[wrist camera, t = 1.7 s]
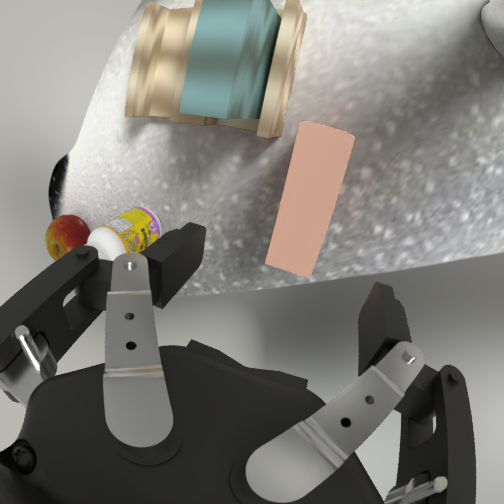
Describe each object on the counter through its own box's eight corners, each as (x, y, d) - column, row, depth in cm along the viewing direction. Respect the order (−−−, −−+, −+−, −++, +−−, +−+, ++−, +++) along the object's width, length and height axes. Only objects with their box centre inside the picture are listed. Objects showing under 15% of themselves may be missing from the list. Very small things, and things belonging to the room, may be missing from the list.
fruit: (105, 237, 44) (73, 258, 37) (90, 262, 48) (63, 282, 41) (76, 198, 42) (43, 215, 35) (64, 226, 46) (35, 243, 40)
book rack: (167, 13, 24) (108, -9, 14) (307, 17, 21) (289, -30, 11) (147, 114, 31) (83, 122, 22) (280, 135, 28) (250, 144, 19)
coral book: (312, 121, 27) (300, 120, 17) (347, 131, 26) (355, 137, 17) (287, 219, 33) (264, 263, 24) (319, 229, 32) (309, 278, 23)
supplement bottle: (160, 252, 41) (107, 299, 30) (128, 234, 42) (72, 274, 31) (167, 214, 37) (106, 256, 27) (132, 198, 38) (69, 232, 27)
